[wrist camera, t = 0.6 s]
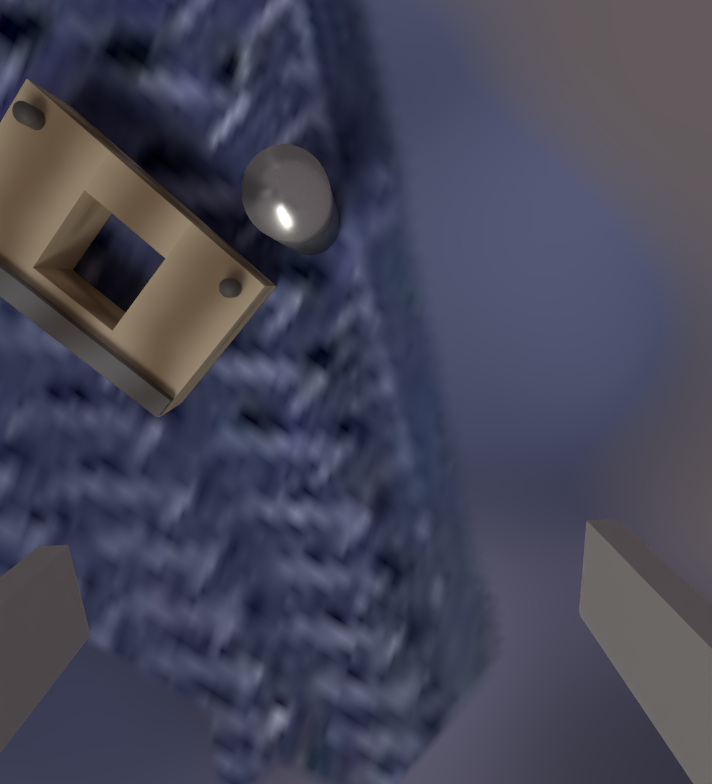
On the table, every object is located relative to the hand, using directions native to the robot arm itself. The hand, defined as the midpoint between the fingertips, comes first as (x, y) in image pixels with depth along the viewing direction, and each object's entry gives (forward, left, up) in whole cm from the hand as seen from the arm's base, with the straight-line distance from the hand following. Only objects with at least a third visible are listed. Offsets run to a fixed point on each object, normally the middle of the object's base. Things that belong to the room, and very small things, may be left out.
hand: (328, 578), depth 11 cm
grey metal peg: (-10, +7, -23) cm, 26 cm away
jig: (-18, -4, -23) cm, 30 cm away
